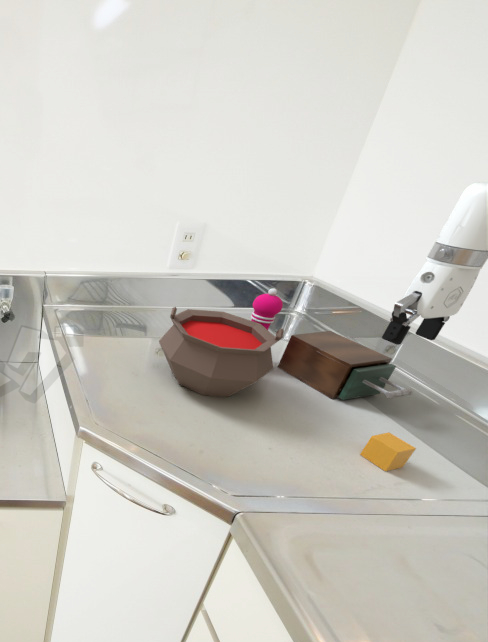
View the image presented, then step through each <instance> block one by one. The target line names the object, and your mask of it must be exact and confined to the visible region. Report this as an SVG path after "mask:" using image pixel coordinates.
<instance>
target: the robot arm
mask: <svg viewBox="0 0 488 642" xmlns="http://www.w3.org/2000/svg"><path fill="white" fill-rule="evenodd" d="M425 260H426V262H425V263H424V264H423V266H421V268H420V270H419V271H418V273H417V274H416V276H415V277H414V278H413V280H412V281H411V283H410V284H409V286H408V288H407V290H406V291H405V293H404V295H403V297H402V298H401V299H400V300H398V301H397V302H395V303H394V305H393V310H392V311H391V317H390V318H389V323H388V325H387V327H386V329H385V331H384V332H383V334H382V336H381V339H383V340H385V341H386V342H388V343H392V344H394V345H396V346H397V345H398V346H399V345H402V343H403V341H404V339H405V338H406V336H407V334H408V333H409V331H410V329H411V328H412V327H411V326H410V325H411V324H412V323H413V322H414V321H416V320H417V319H418V318H419V317H421V318H422V320H421V322H420V325H419V326H418V327H417V330H416V331H415V335H416V336H418V337H421V338H425V339H426V340H429V341H434V340H436V338H437V337H438V336H439V333H440V332H441V331H442V329H443V327H444V326H445V324H446V322H448V321H449V320H450V318H451V316H455V315H457V314H458V313H459V312H460V310H461V308H462V306H463V305H464V303H465V301H466V300H467V298H468V296H469V294H470V292H471V291H472V289H473V287H474V285H475V284H476V280H477V279H478V276H479V274H480V271H481V270H482V268H483V267H484V265H485V264H486V262H487V261H488V181H478V182H474V183H471V184H470V185H468V186H467V187H465V188H464V190H463V192H462V194H461V195H460V197H459V198H458V200H457V202H456V204H455V205H454V207H453V209H452V211H451V213H450V215H449V217H448V218H447V219H446V221H445V223H444V225H443V227H442V229H441V231H440V232H439V235H438V236H437V238H436V240H435V242H434V244H433V245H432V247H431V249H430V250H429V252H428V254H427V256H426V257H425ZM407 315H409V316H407Z"/></svg>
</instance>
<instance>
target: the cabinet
mask: <svg viewBox="0 0 488 642" xmlns="http://www.w3.org/2000/svg"><path fill="white" fill-rule="evenodd" d="M392 360H393V358H392V357H389V356H388V355H385V354H383V353H381V352H378V351H376V350H374V349H372V348H369V347H367V346H366V345H363V344H360V343H358V342H356V341H354V340H352V339H350V338H348V337H345V336H343V335H340V334H338V333H336V332H334V331H332V330H324V331H316V332H314V331H313V332H306V333H297V334H291V335H290V338H289V340H288V342H287V344H286V346H285V349H284V351H283V353H282V356H281V358H280V360H279V362H278V364H277V368H278V369H280V370H282V371H284V372H285V373H287V374H289V375H290V376H292V377H293V378H295V379H296V380H299V381H300V382H302V383H304V384H305V385H307V386H309V387H311V388H312V389H314V390H315V391H317V392H319V393H321V394H323V395H324V396H325V397H328V398H329V399H331V400H336V399H340V398H339V395H340V393H341V391H340V392H339V390H340V388H341V386H342V385H343V383H344V381H345V379H346V377H347V375H348V374H349V372H350V370H351V368H352V367H357V366H364V365H371V364H378V363H381V364H380V365H385V364H391V363H392Z"/></svg>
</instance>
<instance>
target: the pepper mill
mask: <svg viewBox="0 0 488 642" xmlns="http://www.w3.org/2000/svg"><path fill="white" fill-rule="evenodd" d="M277 294H278V290H277V289H276V288H274V287H273V288H269V290H268V291H267V293H262V294H260V295H258V296H256V298H255V299H254V300H253V302H252V308H253V311H251V315H250V321H253V322H256V323H259V324H261V325H262V326H264V327H265V328H266V329H267V330H268V331H269V328H270V326H271V325H272V324H273V323H274V322H275V319H276V315H278V314H279V313H281V312H282V309H283V306H284V303H283V300H282V299H281V297H280V296H278V295H277Z"/></svg>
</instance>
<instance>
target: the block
mask: <svg viewBox="0 0 488 642" xmlns="http://www.w3.org/2000/svg"><path fill="white" fill-rule="evenodd" d="M416 449H417V447H415V446H413V445H412V444H410V443H408V442H406V441H405V440H403V439H401V438H399V437H398V436H396V435H394V434H393V433H391V432H383V433H379V434H374V435H371V436H370V438H369V439H368V441H367V443H366V444H365V446H364V447H363V449H362V451H361V452H360V453H359V455H360V456H361V457H363V458H364V459H366V460H367V461H369V462H370V463H372V464H373V465H375V466H377V467H378V468H379V469H381V470H382V471H384V472H389V471H393V470H397V469H402V468H404V466H405V465H406V463H407V462H408V461H409V459H410V458H411V456H412V455H413V454H414V452H415V451H416Z"/></svg>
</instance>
